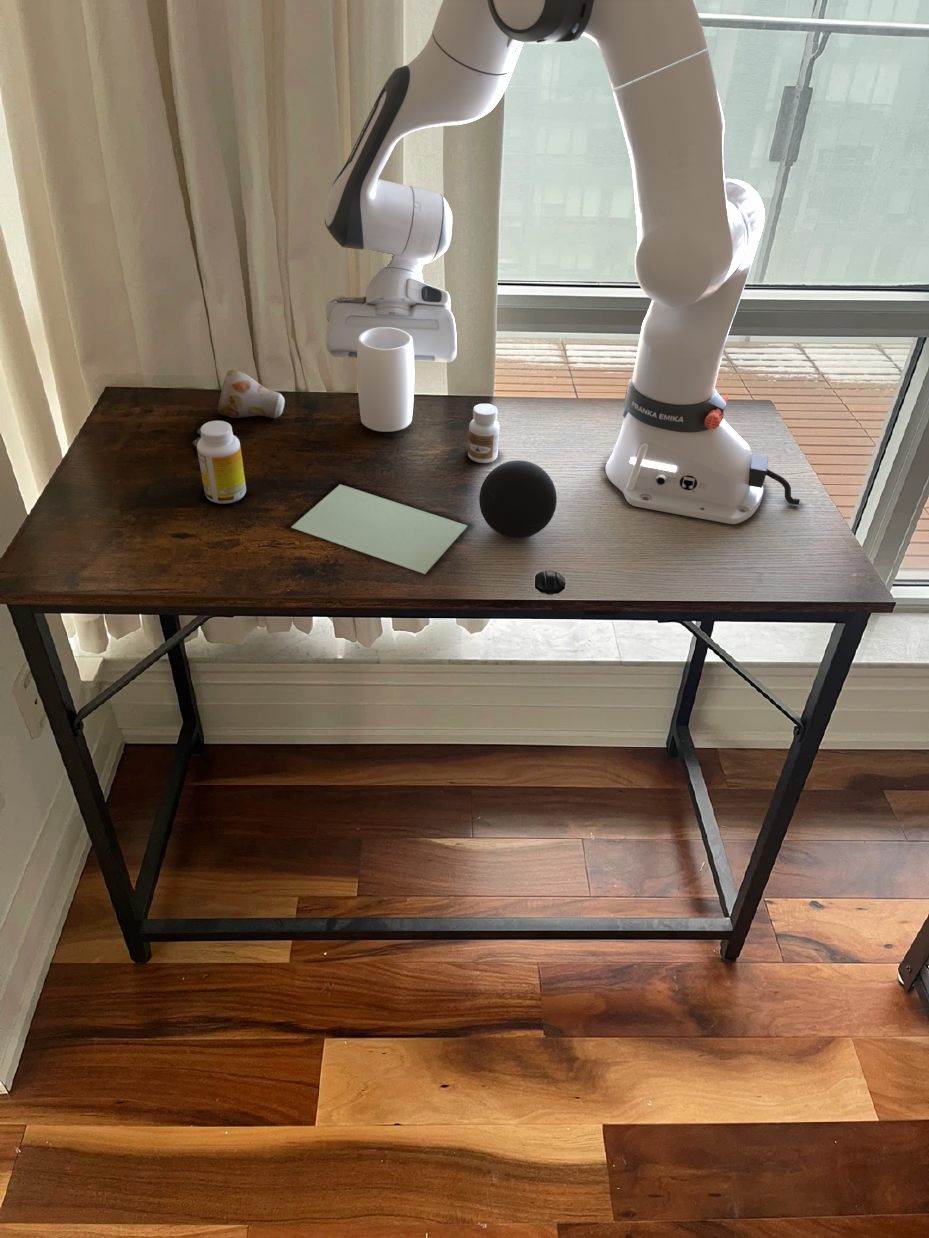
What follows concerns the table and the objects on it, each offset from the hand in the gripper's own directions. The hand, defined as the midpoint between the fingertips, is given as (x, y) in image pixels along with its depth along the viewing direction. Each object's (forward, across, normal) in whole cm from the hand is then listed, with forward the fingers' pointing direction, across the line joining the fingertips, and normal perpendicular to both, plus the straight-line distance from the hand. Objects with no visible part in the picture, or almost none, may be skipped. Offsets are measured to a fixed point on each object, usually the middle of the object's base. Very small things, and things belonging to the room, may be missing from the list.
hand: (390, 385), depth 144 cm
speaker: (+25, +19, -19) cm, 37 cm away
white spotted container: (+5, -21, +1) cm, 22 cm away
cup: (+7, 0, 0) cm, 7 cm away
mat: (+25, +1, -19) cm, 32 cm away
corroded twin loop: (+12, -25, -5) cm, 28 cm away
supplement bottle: (+21, -21, -15) cm, 33 cm away
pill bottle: (+12, +14, -6) cm, 20 cm away
